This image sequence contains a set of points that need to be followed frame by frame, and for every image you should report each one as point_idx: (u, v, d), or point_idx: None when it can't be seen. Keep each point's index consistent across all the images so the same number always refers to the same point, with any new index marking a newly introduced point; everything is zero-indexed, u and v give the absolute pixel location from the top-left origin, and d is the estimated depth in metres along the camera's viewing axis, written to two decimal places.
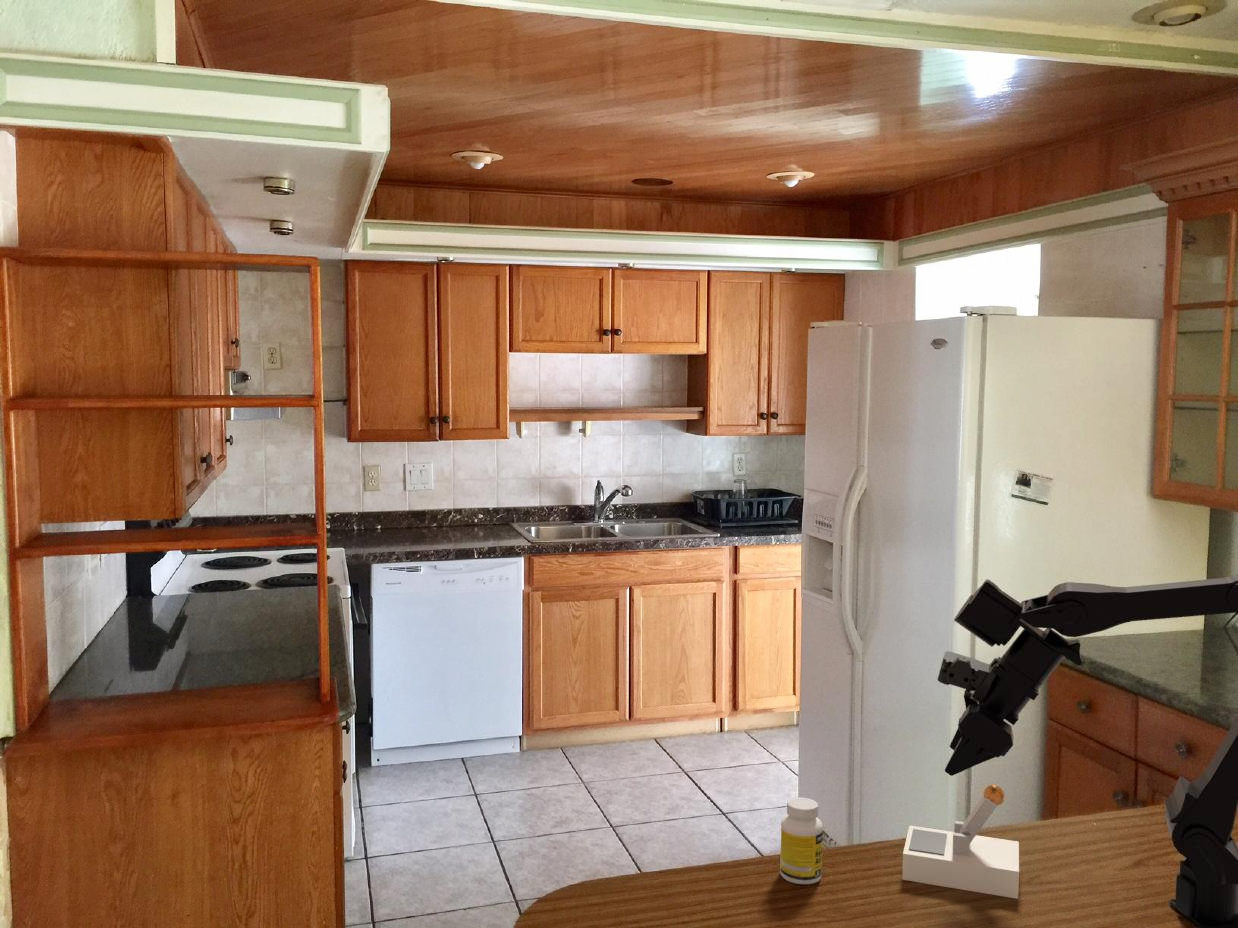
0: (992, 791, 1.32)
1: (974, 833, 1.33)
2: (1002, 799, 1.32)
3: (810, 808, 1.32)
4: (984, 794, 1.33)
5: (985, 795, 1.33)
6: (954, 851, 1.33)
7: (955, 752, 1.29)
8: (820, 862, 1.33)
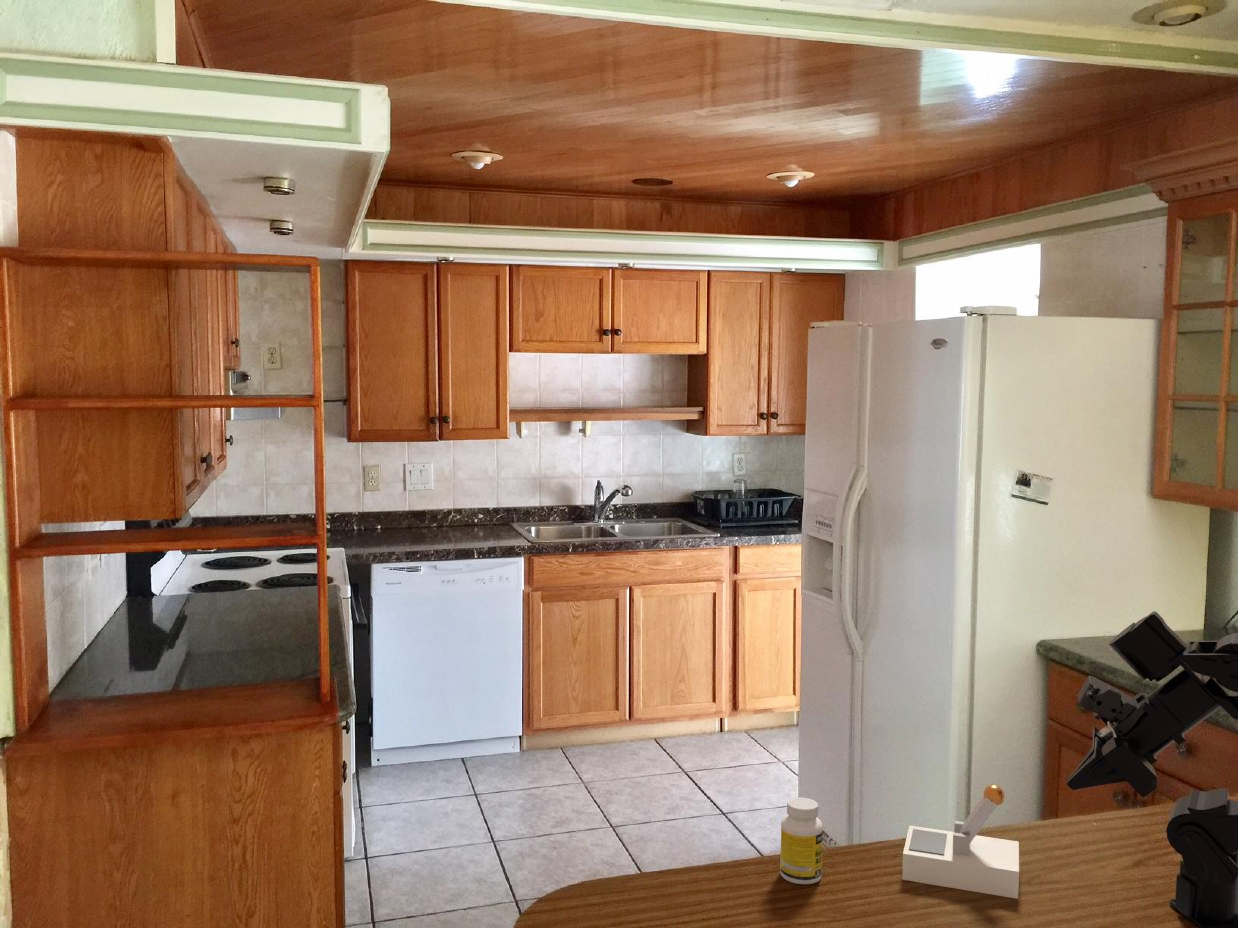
0: (992, 791, 1.32)
1: (974, 833, 1.33)
2: (1002, 799, 1.32)
3: (810, 808, 1.32)
4: (984, 794, 1.33)
5: (985, 795, 1.33)
6: (954, 851, 1.33)
7: (1084, 768, 1.28)
8: (820, 862, 1.33)
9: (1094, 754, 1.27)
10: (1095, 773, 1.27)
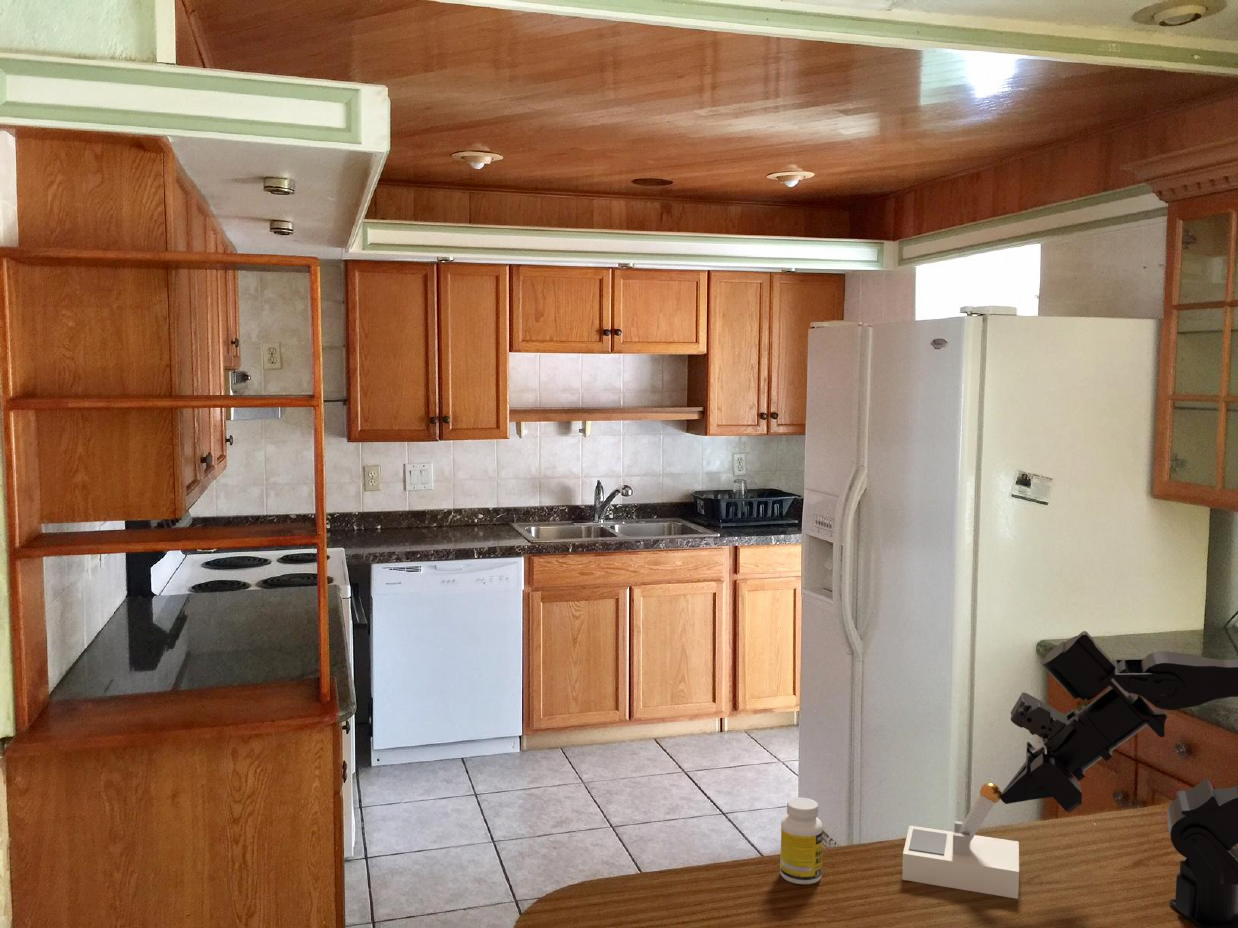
0: (988, 789, 1.32)
1: (973, 832, 1.33)
2: (999, 796, 1.32)
3: (810, 808, 1.32)
4: (981, 792, 1.33)
5: (982, 793, 1.33)
6: (954, 851, 1.33)
7: (1016, 783, 1.31)
8: (820, 862, 1.33)
9: (1026, 769, 1.30)
10: (1026, 788, 1.30)
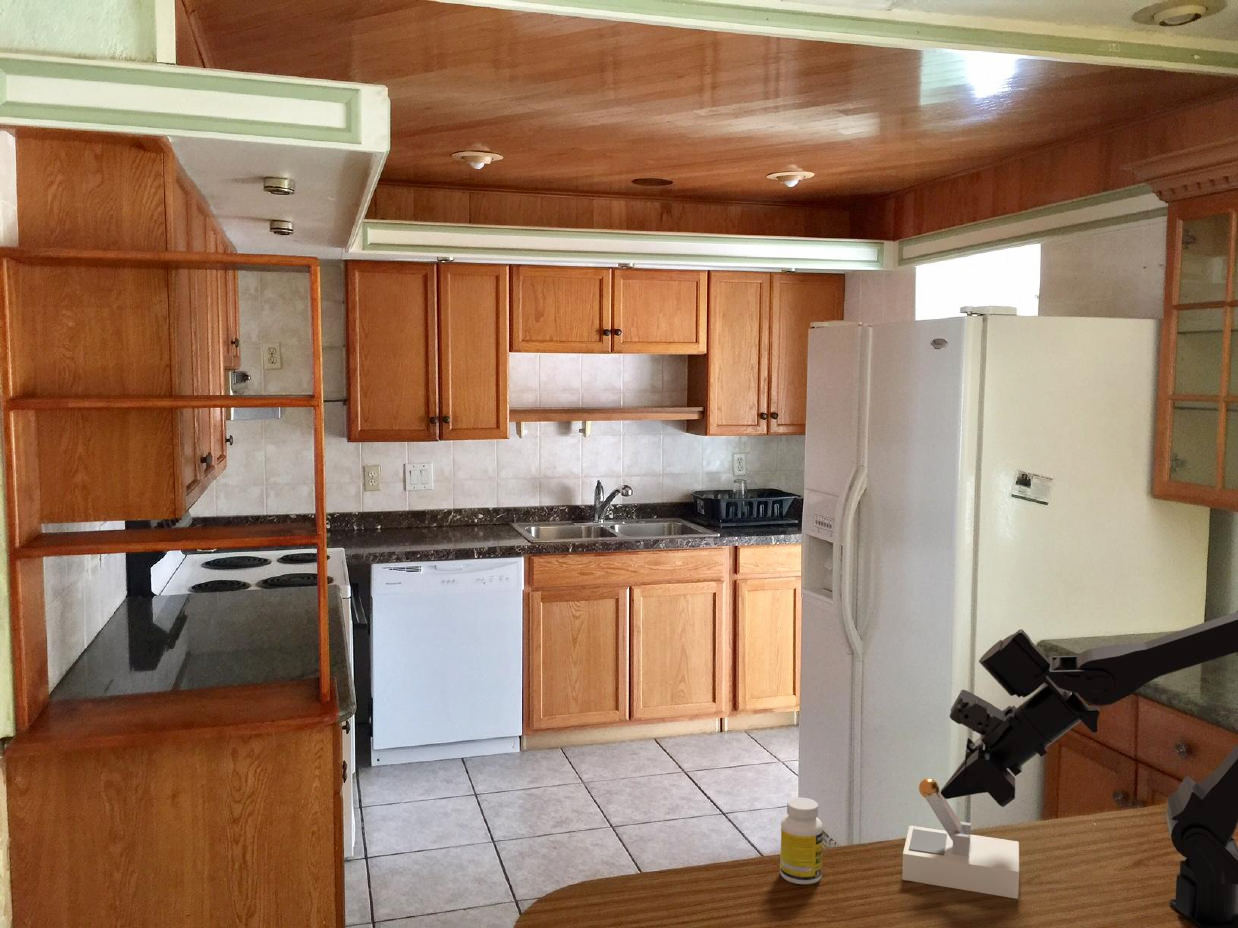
0: (922, 788, 1.35)
1: (955, 826, 1.34)
2: (933, 784, 1.35)
3: (810, 808, 1.32)
4: (923, 796, 1.36)
5: (924, 796, 1.35)
6: (954, 851, 1.33)
7: (955, 778, 1.33)
8: (820, 862, 1.33)
9: (965, 765, 1.33)
10: (965, 783, 1.33)
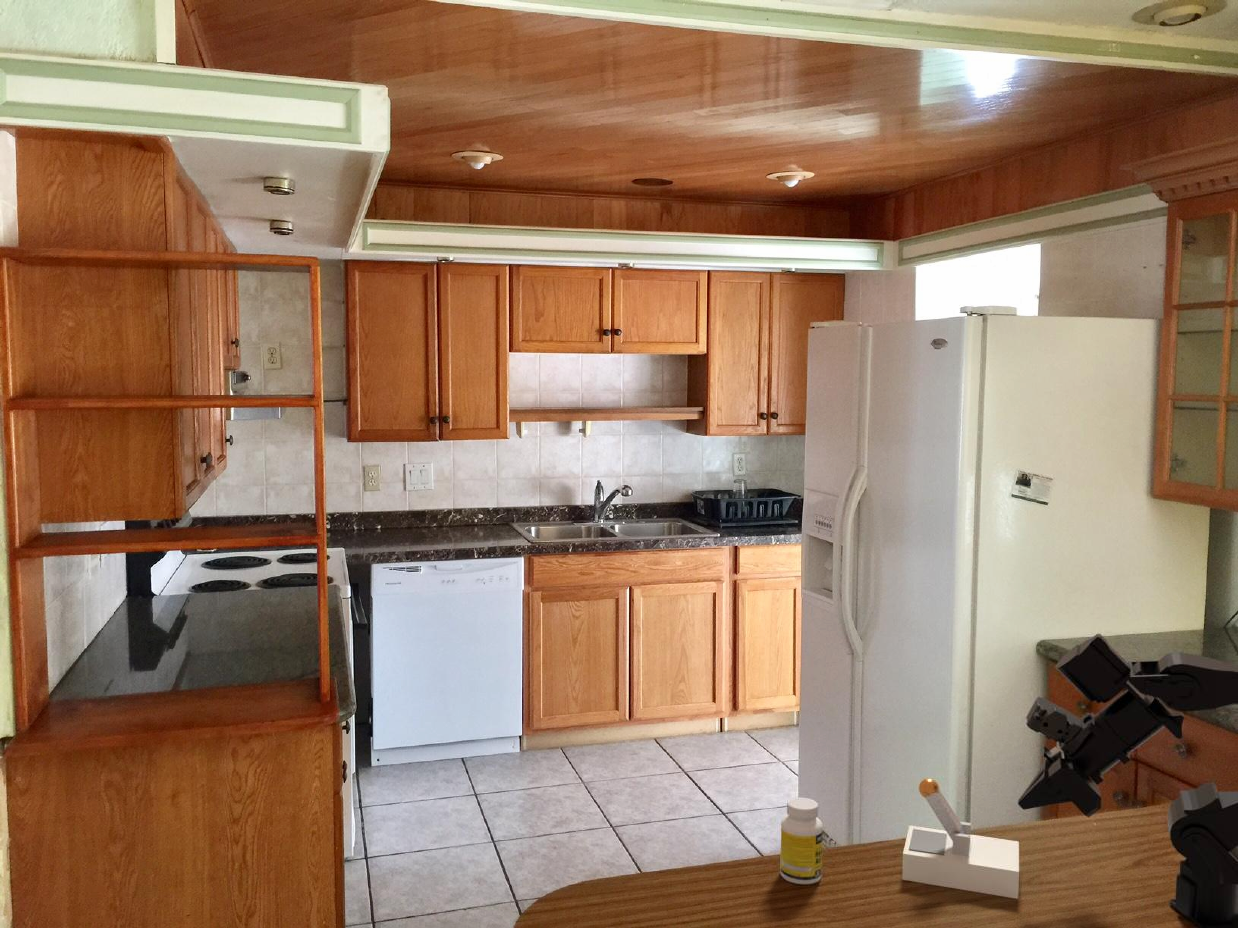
0: (922, 788, 1.35)
1: (955, 826, 1.34)
2: (933, 784, 1.35)
3: (810, 808, 1.32)
4: (923, 796, 1.36)
5: (924, 796, 1.35)
6: (954, 851, 1.33)
7: (1033, 788, 1.30)
8: (820, 862, 1.33)
9: (1043, 774, 1.29)
10: (1045, 793, 1.29)
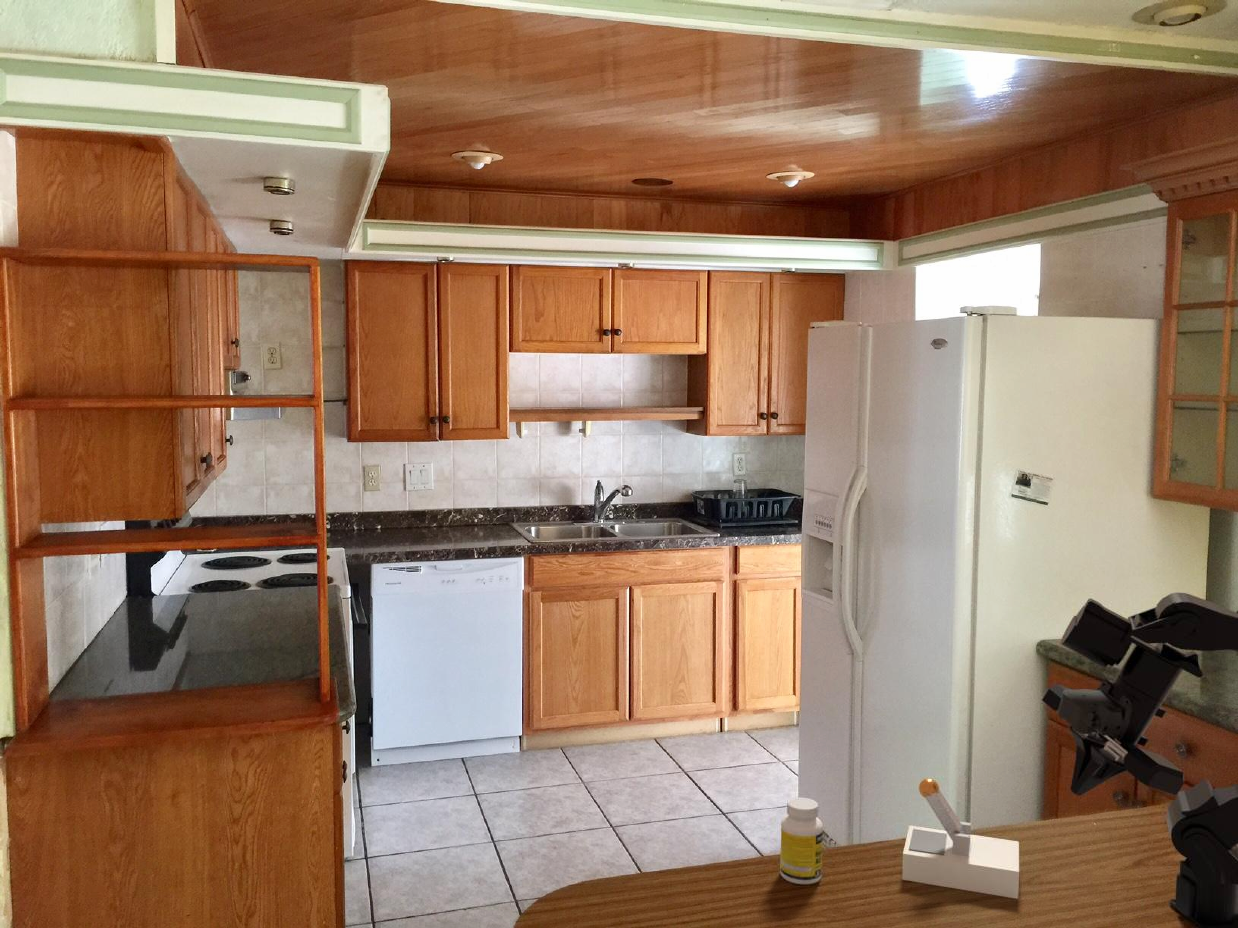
0: (922, 788, 1.35)
1: (955, 826, 1.34)
2: (933, 784, 1.35)
3: (810, 808, 1.32)
4: (923, 796, 1.36)
5: (924, 796, 1.35)
6: (954, 851, 1.33)
7: (1089, 776, 1.26)
8: (820, 862, 1.33)
9: (1095, 761, 1.26)
10: (1099, 775, 1.27)
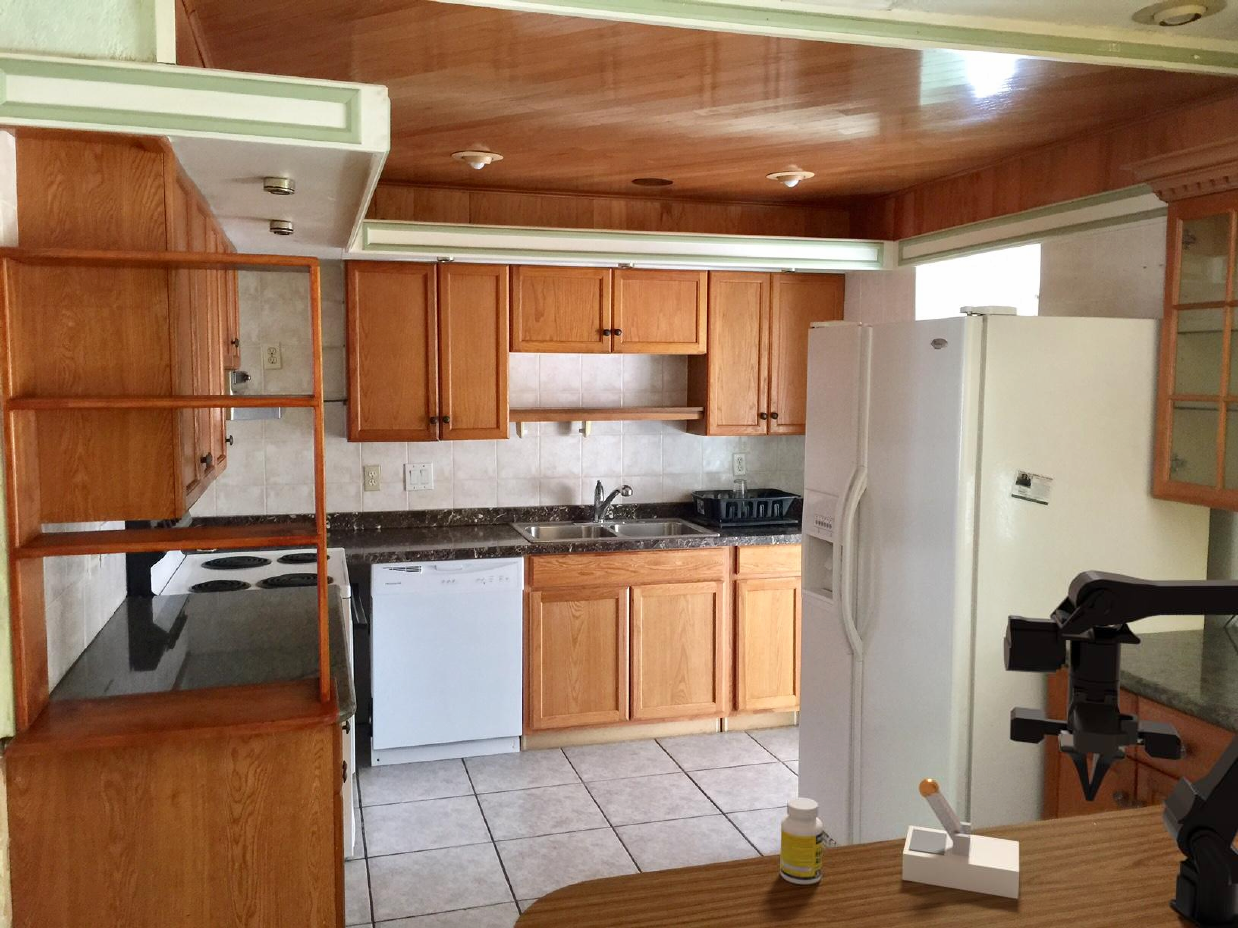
0: (922, 788, 1.35)
1: (955, 826, 1.34)
2: (933, 784, 1.35)
3: (810, 808, 1.32)
4: (923, 796, 1.36)
5: (924, 796, 1.35)
6: (954, 851, 1.33)
7: (1102, 779, 1.25)
8: (820, 862, 1.33)
9: (1103, 763, 1.24)
10: None
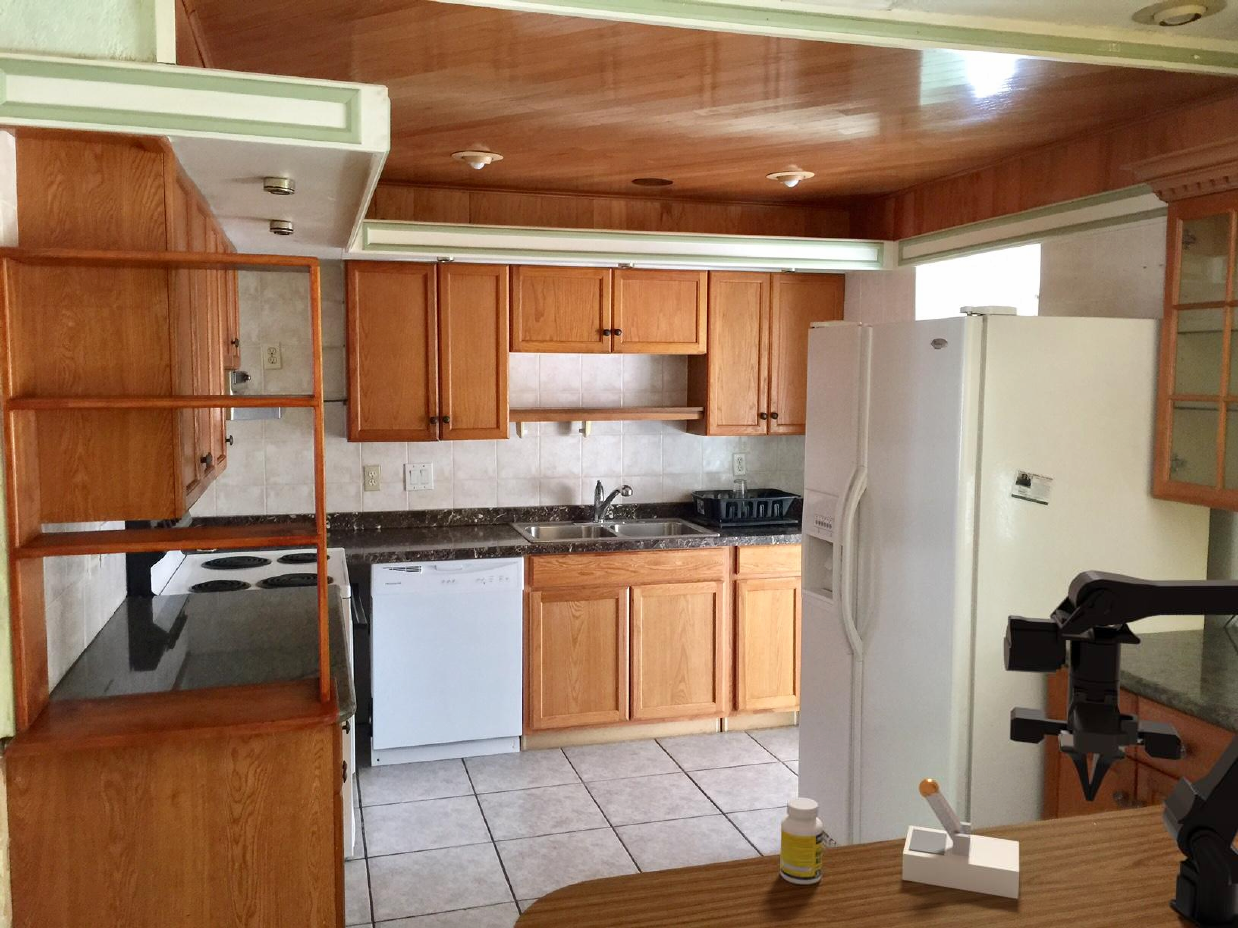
0: (922, 788, 1.35)
1: (955, 826, 1.34)
2: (933, 784, 1.35)
3: (810, 808, 1.32)
4: (923, 796, 1.36)
5: (924, 796, 1.35)
6: (954, 851, 1.33)
7: (1102, 779, 1.25)
8: (820, 862, 1.33)
9: (1103, 763, 1.24)
10: None
